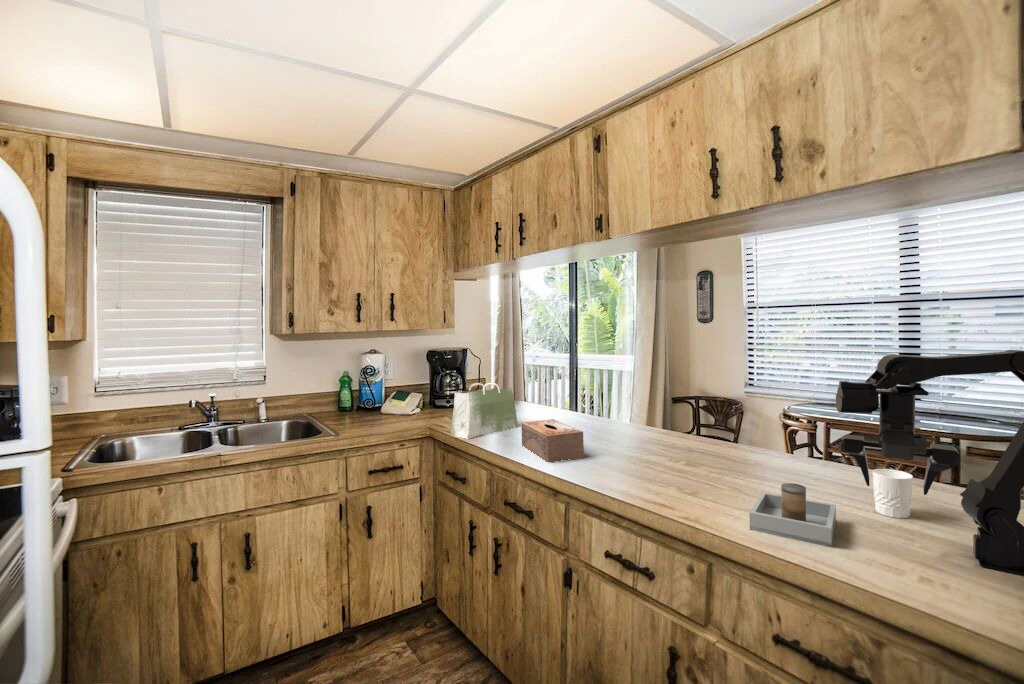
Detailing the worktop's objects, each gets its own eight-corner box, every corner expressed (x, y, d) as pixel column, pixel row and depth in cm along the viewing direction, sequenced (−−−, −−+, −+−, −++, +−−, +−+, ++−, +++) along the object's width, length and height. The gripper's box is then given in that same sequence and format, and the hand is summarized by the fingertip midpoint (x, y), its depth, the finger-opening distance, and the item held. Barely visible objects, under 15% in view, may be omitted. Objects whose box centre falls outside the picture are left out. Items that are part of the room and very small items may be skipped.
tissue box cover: (583, 458, 174) (583, 431, 174) (547, 463, 169) (547, 435, 169) (554, 442, 198) (553, 419, 198) (522, 446, 194) (521, 422, 193)
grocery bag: (499, 423, 239) (497, 377, 238) (518, 427, 229) (517, 379, 229) (448, 435, 216) (446, 384, 216) (468, 440, 207) (466, 387, 206)
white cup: (894, 506, 123) (894, 468, 122) (921, 518, 115) (921, 478, 114) (864, 507, 122) (864, 469, 122) (890, 520, 114) (890, 479, 114)
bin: (835, 521, 115) (835, 504, 115) (831, 546, 102) (831, 528, 102) (762, 507, 124) (761, 492, 124) (749, 529, 112) (749, 512, 112)
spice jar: (810, 523, 112) (810, 488, 112) (797, 528, 110) (797, 491, 109) (790, 515, 116) (790, 481, 116) (776, 520, 114) (776, 485, 114)
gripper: (839, 417, 98) (838, 491, 98) (964, 428, 86) (962, 512, 87) (843, 408, 106) (842, 477, 107) (956, 417, 95) (954, 494, 96)
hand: (895, 489), depth 99 cm, fingers open, 9 cm apart
